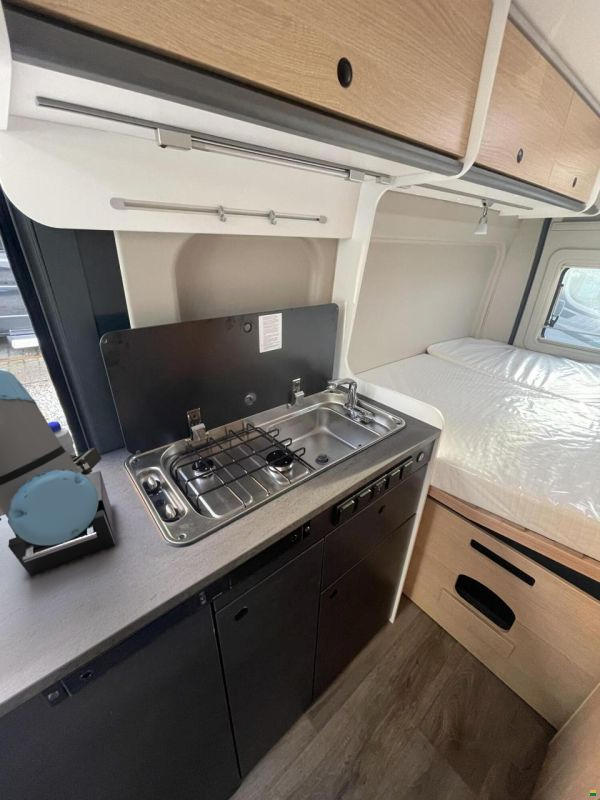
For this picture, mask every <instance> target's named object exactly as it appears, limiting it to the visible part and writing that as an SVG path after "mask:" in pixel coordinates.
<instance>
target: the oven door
mask: <svg viewBox="0 0 600 800" xmlns="http://www.w3.org/2000/svg"><path fill="white" fill-rule="evenodd" d="M114 538H115V537H114ZM114 538H113V535H112V532H111V529H110V527H109V524H108V521H107V519H106V516H105V513H104V511H103V510H101V511H98V512H96V514H95V516H94V518H93V520H92V521H91V523H90V524H89V525H88V526H87V527H86V529H84V530H83V531H82V532H81V533H80V534H79V535H77V536H75V537H74V538H72V539H70V540H68V541H65V542H62V543H59V544H54V545H36V544H32V543H29V542H27V541H25V540H23V539H22V538H20V537H16V536H15V537H12V538H10V539H8V545H7V547H8V548H9V550H10V551H11V552H12V554H13V555H14V556H15V558H16V559H17V560H18V562H19V563H20V564H21V566H22V567H23V568H24V570H25V571H26V573H27V574H28V575H29V576H30V577H31V578H32V577H34V576H37V575H40V574H42V573H45V572H48V571H51V570H53V569H56V568H58V567H62V566H64V565H67V564H70V563H73V562H75V561H78V560H80V559H83V558H86V557H89V556H92V555H94V554H97V553H99V552H102V551H105V550H108V549H110V548H114V547H116V539H115V540H114Z"/></svg>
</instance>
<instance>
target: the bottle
mask: <svg viewBox="0 0 600 800" xmlns="http://www.w3.org/2000/svg"><path fill="white" fill-rule="evenodd" d="M47 423H48V425H49V426H50V428H51V429H52V431H53V433H54V434H55V436H56V437H57V439H58V441H59V442H60V444H61V445H62V446H63V448H64V450H65V451H67V452H68V454H69V455H76V456H77V453H76V451H75V448H74V447H75V446H74V440H73V437H72V435H71V433H70V431H69V430H68V429H67V428H66V427H62V426H61V424H60V422H58V421H50V422H47Z"/></svg>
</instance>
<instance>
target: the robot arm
mask: <svg viewBox="0 0 600 800" xmlns="http://www.w3.org/2000/svg"><path fill="white" fill-rule="evenodd" d="M48 423H49V422H48V421H47V420H46V418H45V416H44V415H43V413H42V411H41V409H40V408H39V406H38V404H37V402H36V400H35V399H34V398H33V397H32V396H31V394H30V393H29V391H28V390H27V389H26V388H25V386H24V385H23V384H22V382H21V381H20V380H19V379H18V378H17V377H16V376H15V374H14V373H12V372H11V371H9V370H7V369H2V368H0V522H1V521H2V516H6V518H7V524H8V526H9V528H11V530H12V532H13V531H14V532H15V534H16V535H17V536H18V537H20V538H22V539H23V540H25V541H27V542H29V543H32V544H36V545H54V544H59V543H62V542H65V541H68V540H70V539H72V538H74V537H75V536H77V535H79V534H80V533H81V532H82V531H83V530H84V529H86V527H87V526H88V525H89V524H90V523H91V521H92V520H93V518H94V516H95V514H96V511H97V508H98V493H97V490H96V488H95V487H94V485H93V484H92V483H91V481H90V479H89V478H88V477H85V476H83V475H88V474H90V473H93V469H94V468H95V466H97V465H98V464H99V462H100V461H101V460H102V459H103V458H102V456H101V455H100V453H99V451H98V449H97V448H96V447H91V448H90V449H88V450H87V451H86V452H80V453H78V455H77V454H76V455H69V454H68V452H67V451H65V450H64V448H63V446H62V445H61V444H60V442H59V441H58V439H57V437H56V436H55V434H54V433H53V431H52V429H51V428H50V426H49V425H48ZM14 532H13V533H14ZM15 534H14V535H15Z"/></svg>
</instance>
